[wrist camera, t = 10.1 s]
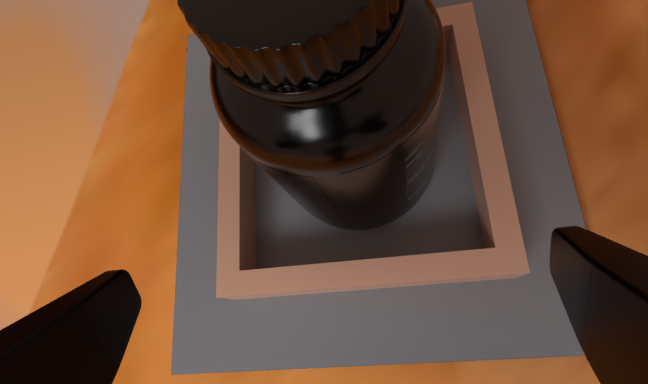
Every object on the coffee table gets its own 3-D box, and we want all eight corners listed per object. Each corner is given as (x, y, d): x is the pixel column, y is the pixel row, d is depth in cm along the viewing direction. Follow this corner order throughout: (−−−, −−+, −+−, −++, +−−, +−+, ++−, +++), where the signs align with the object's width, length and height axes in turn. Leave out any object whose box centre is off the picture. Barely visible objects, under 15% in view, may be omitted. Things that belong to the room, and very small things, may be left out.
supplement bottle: (379, 72, 20) (341, -228, 9) (465, 178, 18) (557, -52, 7) (264, 147, 20) (87, -59, 9) (334, 263, 18) (211, 174, 7)
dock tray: (611, 352, 16) (648, 358, 13) (178, 373, 19) (144, 381, 16) (515, -20, 21) (528, -64, 19) (192, 42, 24) (168, 10, 22)
